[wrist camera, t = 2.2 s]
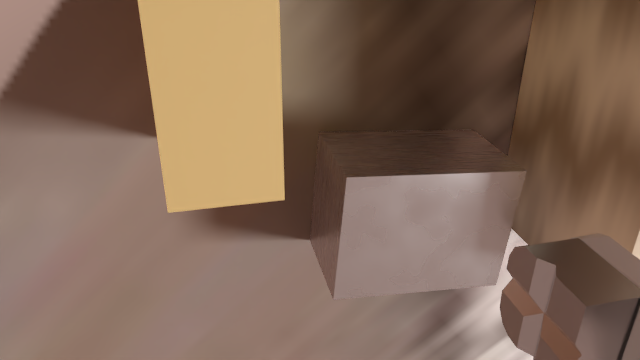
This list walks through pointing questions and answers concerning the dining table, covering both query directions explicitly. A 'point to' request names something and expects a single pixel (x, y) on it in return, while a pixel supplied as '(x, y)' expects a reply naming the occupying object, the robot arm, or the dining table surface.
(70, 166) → the dining table surface
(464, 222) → the block
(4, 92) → the dining table surface
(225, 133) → the book
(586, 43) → the shelf corner
